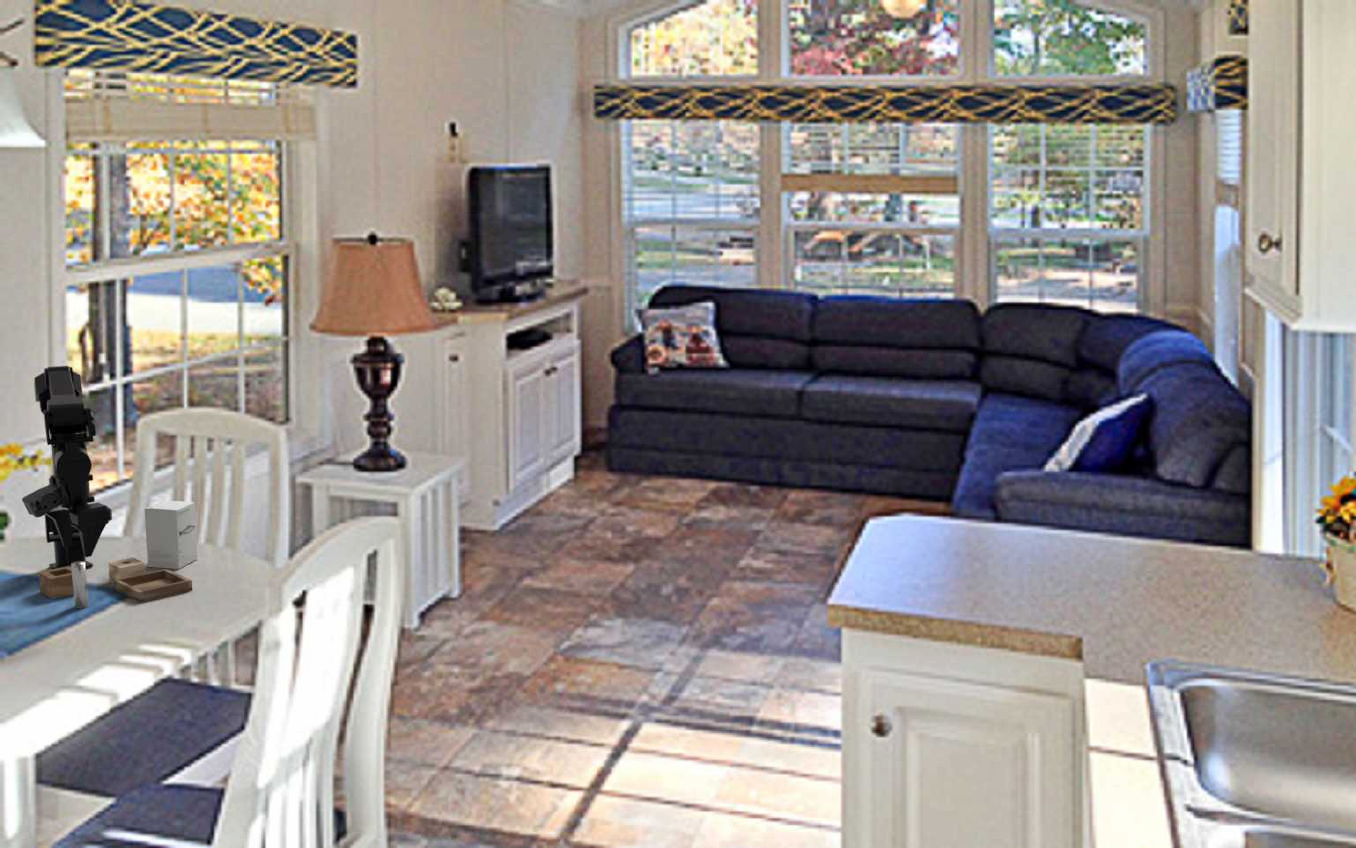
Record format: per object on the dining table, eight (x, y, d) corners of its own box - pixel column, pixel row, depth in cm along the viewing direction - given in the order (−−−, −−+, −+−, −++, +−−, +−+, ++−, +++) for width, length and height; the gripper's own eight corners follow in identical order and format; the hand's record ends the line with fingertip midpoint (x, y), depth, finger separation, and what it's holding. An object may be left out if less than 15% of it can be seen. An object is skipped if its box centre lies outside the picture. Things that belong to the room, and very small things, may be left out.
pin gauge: (72, 606, 252) (69, 563, 251) (85, 603, 254) (82, 560, 252) (77, 609, 251) (74, 565, 249) (90, 606, 252) (87, 563, 251)
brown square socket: (40, 592, 260) (38, 572, 259) (71, 585, 265) (69, 565, 264) (53, 599, 256) (51, 579, 255) (84, 592, 261) (83, 572, 260)
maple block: (109, 581, 268) (108, 562, 267) (134, 576, 271) (132, 557, 270) (121, 587, 264) (119, 567, 263) (145, 581, 268) (144, 562, 267)
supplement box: (179, 570, 275) (175, 510, 273) (146, 567, 277) (142, 508, 274) (199, 559, 282) (195, 501, 280) (167, 557, 284) (163, 499, 281)
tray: (114, 590, 262) (113, 580, 262) (166, 578, 270) (166, 568, 269) (139, 602, 255) (138, 592, 255) (192, 590, 263) (191, 580, 262)
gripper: (5, 468, 248) (12, 549, 251) (47, 486, 235) (54, 571, 238) (66, 459, 256) (72, 538, 259) (110, 475, 243) (116, 558, 246)
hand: (77, 551), depth 250 cm, fingers open, 9 cm apart
